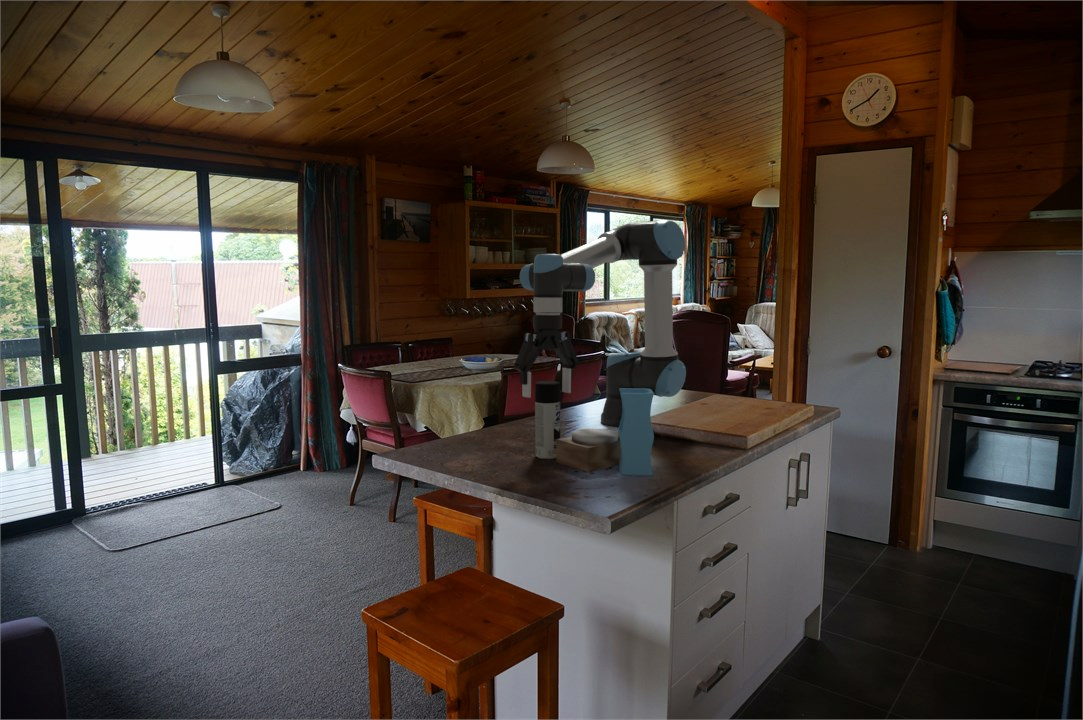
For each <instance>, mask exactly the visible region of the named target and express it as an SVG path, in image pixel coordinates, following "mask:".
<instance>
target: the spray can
mask: <svg viewBox="0 0 1083 720" xmlns="http://www.w3.org/2000/svg"><path fill="white" fill-rule="evenodd" d="M560 384H561V383H560V382H559V381H554V380H553V381H552V380H541V381H536V382H535V383H534V413H535V414H534V423H535V424H534V425H535V429H534V431H535V434H534V435H535V438H534V440H535V443H534V444H535V457H537V458H538V459H542V460H554V459H555V460H556V439H561V385H560Z"/></svg>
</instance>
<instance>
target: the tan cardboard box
mask: <svg viewBox="0 0 1083 720" xmlns="http://www.w3.org/2000/svg"><path fill="white" fill-rule="evenodd" d="M620 453H621V448H620V438H619V432H618V431H615V430H613V429H607V428H582V429H577V430H576V429H575V430H574V431H572V432H571V436H568V437H563V438H560V439H556V458H555V460H556V463H557V464H560V465H564V466H567V467H570V468H574V469H578V470H579V471H583V472H586V473H589V472H594V471H599V470H602V469H607V468H611V467H615V466H619V462H620Z"/></svg>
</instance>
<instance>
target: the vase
mask: <svg viewBox="0 0 1083 720" xmlns="http://www.w3.org/2000/svg"><path fill="white" fill-rule="evenodd" d="M619 390H620V394H621V399H622V408H623V411H622V418H621V422H620V425H619V426H618V428H617V429H618V430H617V433H619V438H620V448H621V453H620V462H619V465H618V471H619V474H620V475H622V476H623V475H624V476H653V475H654V474H653V468H652V458H651V457H652V449H653V444H654V439H655V433H654V431H653V426H652V419H651V416H652V415H651V412H652V411H651V409H652V405H653V404H652V402H653V398H654V396H655V395H654V393H653V391H652V390H651V389H646V388H619Z"/></svg>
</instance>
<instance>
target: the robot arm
mask: <svg viewBox="0 0 1083 720" xmlns="http://www.w3.org/2000/svg"><path fill="white" fill-rule="evenodd" d="M685 250H686V238H685V233H684V232H683V229H682V228H681V227H680V225H679V224H678V223H677V222H675V221H674V220H670V219H668V220H667V219H666V220H665V219H664V220H663V219H658V220H650V221H635V222H634V221H633V222H629V223H626V224H623V225H620V226H618V227H616V228H612V229H611V230H610V229H609V230H608V231H606V232H603V233H601V234H600V235H599V236H597V239H595V240H593V241H589V242H588V243H586V244H583V245H581V246H578V247H575V248H573V249H571V250H568V251H566V252H564V253H561V254H559V253H558V254H556V253H541V254H540V253H538V254H536V255H535V256H534V259H533V260H534V261H533V262H532V263H530V264H526V265H523V266H522V268H521V270H520V271H519V282H520V285H521V286H522V288H524V289H525V290H527V291H533V313H535V314H534V315H533V316H532V320H533V323H532V325H533V327H532V328H534V329H533V330H534V333H529V332H525V333H524V335H523V343H522V345H521V347H520V350H519V352H518V355H517V357H516V359H515V362H514V365H513V370H517V371H518V372H519V373H520V375H519V376H520V378H519V379H520V381H519V382H520V384H521V385H522V387H521V390H522V392H521V393H522V395H521V396H522V397H524V398H529V399H530V398H532V372H530V370H531V369H532V368H531V367H532V366H533V364H534V363H535V361H536V360H537V358H538V357H539V355H540V353H542V352H543V351H549V350H552V351H554V353H555V354H556V356H557V357H558V358H559V360H560V361H561V363H562V364H563V366H564V367H562V369H561V370H562V380H561V382H562V383H561V384H562V385H561V386H562V387H561V392H562V393H566V394H571V393H572V380H573V379H574V377H573V375H574V374H573V373H574V372H573V371H574V369H576V368H577V366H579V365H580V361H579V359H578V357H577V353H576V351H575V349H574V345H573V343H572V340H571V339H572V338H571V332H570V331H564V330H563V331H561V330H562V328H563V316H562V314H561V313H563V293H564V292H580V293H581V292H587V291H589V290H591V289H592V288H593V286H594V285H595V282H596V273H595V268H597V267H599V266H601V265H604V264H605V263H608V264H613V263H616V262H618V261H629V260H633V261H635V260H636V261H638V267H639V268H640V269H641V270H642V271H643V284H644V285H643V286H644V287H643V290H644V291H643V293H644V300H643V301H644V305H643V306H644V349H643V350H642V351H639V352H638V351H637V352H623V353H615V354H609V356H607V359H606V367H605V369H606V371H605V373H606V374H605V375H606V377H605V378H606V379H605V381H606V383H605V384H606V385H605V386H606V387H605V389H606V394H605V395H606V396H605V403H604V405H603V409H602V412H601V413H600V423H601V424H603V425H606V426H611V427H619V425H620V422H621V418H622V411H623V408H622V399H621V394H620V390H619V388H646V389H651V390H652V391H653V393H654V395H653V396H657V397H659V398H662V397H665V398H671V397H674V396H676V395H677V394H679V392H680V391H681V390H682V388H683V387H684V383H685V382H686V378H687V377H686V376H687V367H686V366H685V364H684V362H682V361H681V360H680V359H679V353H678V351H676V350H675V348H674V339H673V338H674V336H673V335H674V334H673V332H674V331H673V330H674V329H673V328H674V326H673V325H674V324H673V322H674V320H673V319H674V318H673V313H674V312H673V271H674V269H675V268H676V267H677V266H678V259H680V258H682V257H683V255H684V251H685ZM561 342H562V343H561Z"/></svg>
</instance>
